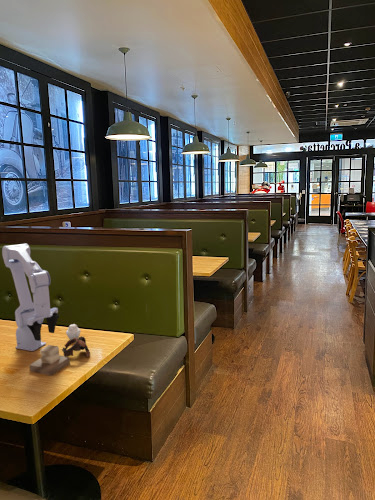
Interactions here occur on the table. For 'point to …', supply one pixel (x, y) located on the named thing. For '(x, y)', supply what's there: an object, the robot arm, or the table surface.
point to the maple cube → (50, 354)
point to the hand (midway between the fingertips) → (44, 336)
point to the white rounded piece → (73, 331)
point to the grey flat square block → (49, 366)
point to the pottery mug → (76, 346)
